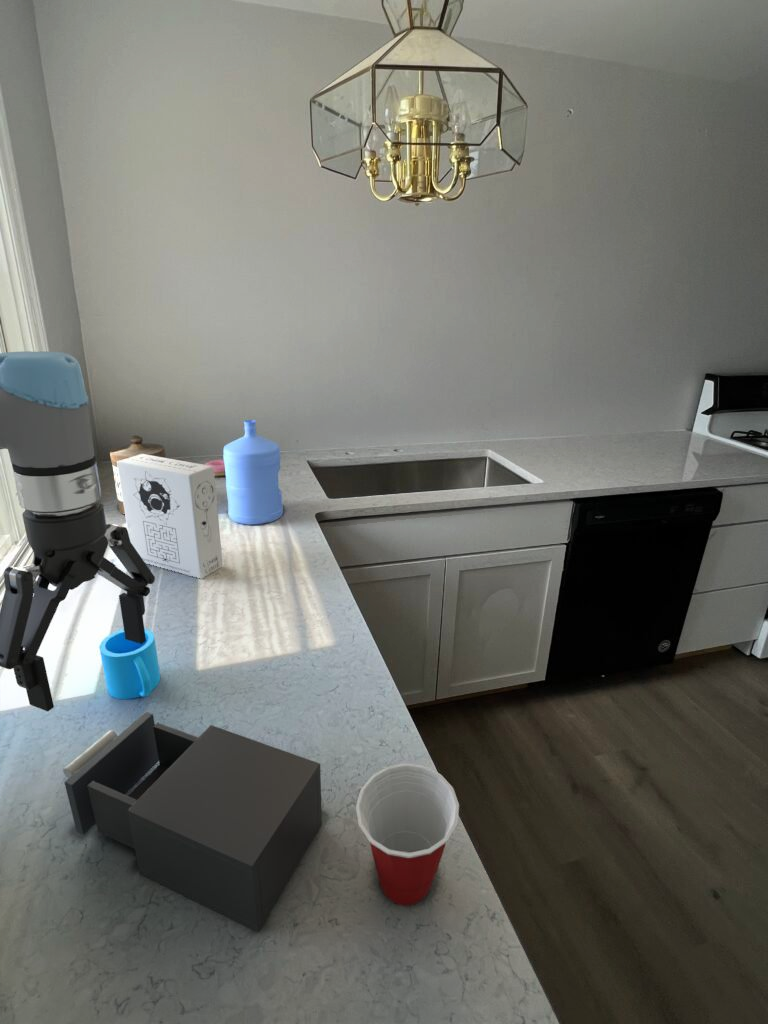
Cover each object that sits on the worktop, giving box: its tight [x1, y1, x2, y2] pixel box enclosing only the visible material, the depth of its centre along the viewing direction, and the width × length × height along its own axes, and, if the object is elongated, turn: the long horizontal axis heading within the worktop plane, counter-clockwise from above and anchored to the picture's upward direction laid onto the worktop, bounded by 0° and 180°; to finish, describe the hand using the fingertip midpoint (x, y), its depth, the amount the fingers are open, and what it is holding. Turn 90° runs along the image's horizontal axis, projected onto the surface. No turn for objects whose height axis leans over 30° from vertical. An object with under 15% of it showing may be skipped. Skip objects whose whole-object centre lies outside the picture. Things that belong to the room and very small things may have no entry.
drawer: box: [62, 711, 199, 850], centre depth 69 cm, size 19×13×8 cm, turn 68°
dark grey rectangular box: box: [127, 724, 323, 933], centre depth 64 cm, size 16×14×10 cm
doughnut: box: [204, 459, 226, 478], centre depth 199 cm, size 11×11×4 cm
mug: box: [98, 627, 161, 700], centre depth 90 cm, size 12×8×8 cm
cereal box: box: [117, 454, 224, 580], centre depth 129 cm, size 22×8×25 cm, turn 65°
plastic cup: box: [355, 762, 460, 906], centre depth 60 cm, size 11×11×12 cm
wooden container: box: [109, 435, 167, 515], centre depth 163 cm, size 15×15×22 cm
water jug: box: [222, 419, 284, 526], centre depth 158 cm, size 16×16×28 cm
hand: (93, 670), depth 67 cm, fingers open, 13 cm apart
